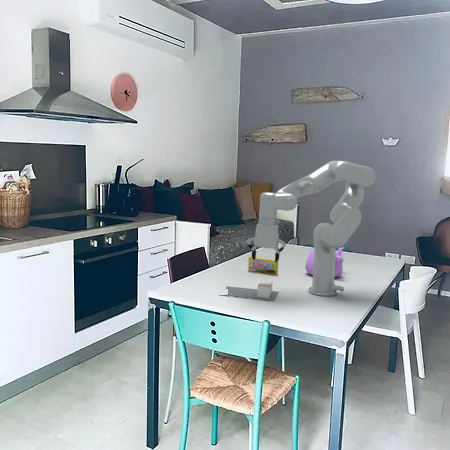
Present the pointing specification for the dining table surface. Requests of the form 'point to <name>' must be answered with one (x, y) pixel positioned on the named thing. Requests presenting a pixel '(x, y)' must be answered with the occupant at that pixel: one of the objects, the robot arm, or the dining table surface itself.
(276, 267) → the candy box
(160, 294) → the dining table surface
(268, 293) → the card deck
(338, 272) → the teapot
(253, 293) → the mat
